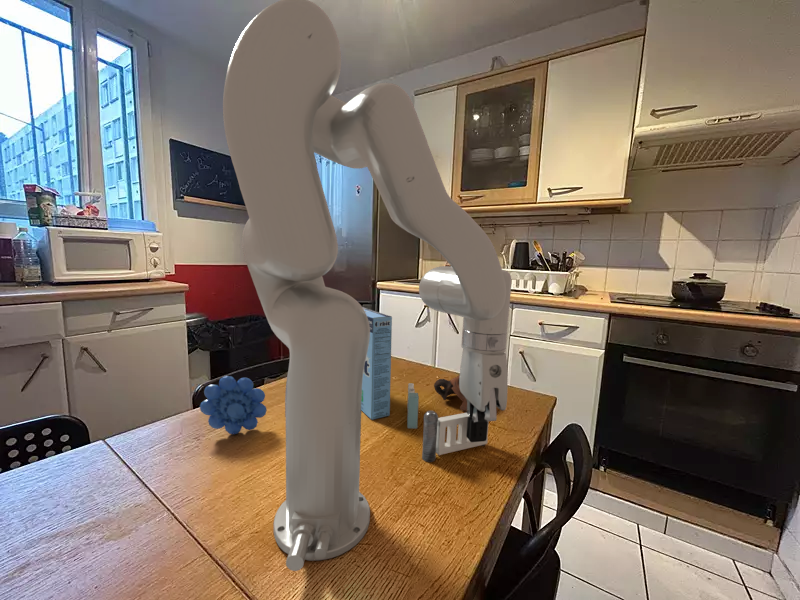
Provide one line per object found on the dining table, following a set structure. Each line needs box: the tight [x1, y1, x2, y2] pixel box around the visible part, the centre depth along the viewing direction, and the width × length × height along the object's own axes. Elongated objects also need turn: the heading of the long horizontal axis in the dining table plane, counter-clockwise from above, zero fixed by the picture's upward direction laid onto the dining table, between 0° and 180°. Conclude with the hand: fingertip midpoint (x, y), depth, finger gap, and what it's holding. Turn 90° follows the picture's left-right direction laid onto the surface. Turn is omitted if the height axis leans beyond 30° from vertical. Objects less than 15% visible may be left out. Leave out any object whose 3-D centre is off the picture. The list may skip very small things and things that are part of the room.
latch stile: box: [406, 392, 419, 429], centre depth 72 cm, size 2×2×7 cm
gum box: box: [361, 306, 393, 421], centre depth 82 cm, size 20×5×23 cm, turn 31°
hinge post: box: [421, 410, 439, 463], centre depth 61 cm, size 3×3×9 cm
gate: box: [436, 410, 490, 456], centre depth 64 cm, size 11×1×7 cm, turn 114°
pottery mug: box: [433, 374, 467, 412], centre depth 85 cm, size 12×10×8 cm
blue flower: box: [199, 375, 268, 435], centre depth 66 cm, size 12×7×12 cm, turn 119°
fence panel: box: [406, 382, 416, 410], centre depth 77 cm, size 8×1×6 cm, turn 2°
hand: (476, 439), depth 62 cm, fingers closed
